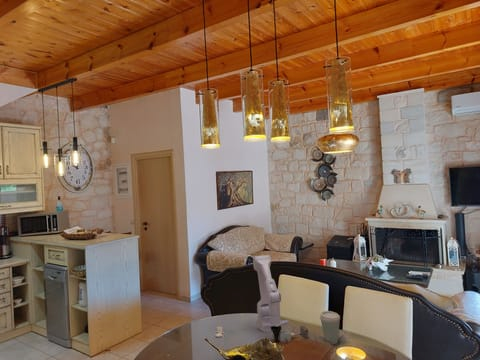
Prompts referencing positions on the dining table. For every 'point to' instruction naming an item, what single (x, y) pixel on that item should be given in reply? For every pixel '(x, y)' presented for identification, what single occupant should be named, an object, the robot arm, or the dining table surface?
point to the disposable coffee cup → (330, 326)
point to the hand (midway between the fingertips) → (276, 339)
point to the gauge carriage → (285, 336)
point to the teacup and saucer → (219, 332)
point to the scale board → (303, 332)
